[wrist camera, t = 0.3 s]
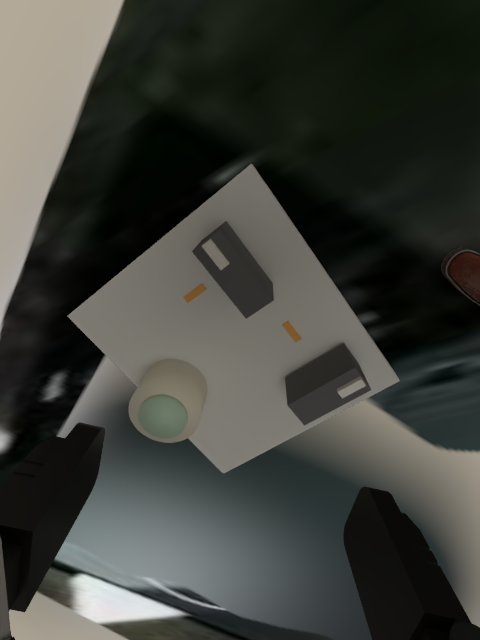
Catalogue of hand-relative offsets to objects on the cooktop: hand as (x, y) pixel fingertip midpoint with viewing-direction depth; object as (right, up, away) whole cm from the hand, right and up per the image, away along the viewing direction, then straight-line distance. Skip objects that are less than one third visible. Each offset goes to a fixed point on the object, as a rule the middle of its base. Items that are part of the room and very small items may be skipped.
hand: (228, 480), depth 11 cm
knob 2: (+7, 0, +20) cm, 21 cm away
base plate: (0, +3, +22) cm, 23 cm away
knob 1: (0, +9, +17) cm, 19 cm away
